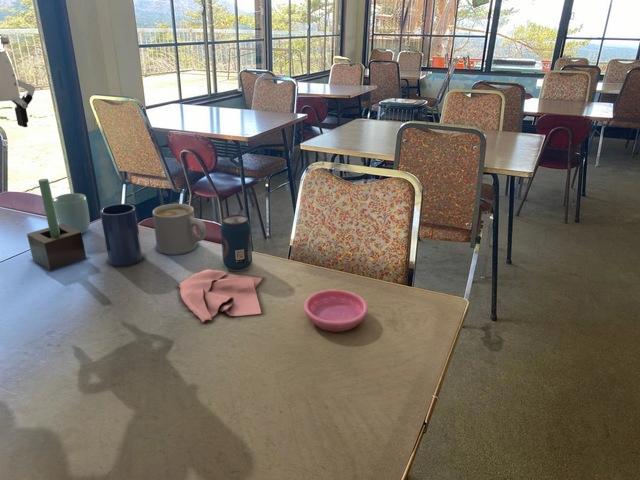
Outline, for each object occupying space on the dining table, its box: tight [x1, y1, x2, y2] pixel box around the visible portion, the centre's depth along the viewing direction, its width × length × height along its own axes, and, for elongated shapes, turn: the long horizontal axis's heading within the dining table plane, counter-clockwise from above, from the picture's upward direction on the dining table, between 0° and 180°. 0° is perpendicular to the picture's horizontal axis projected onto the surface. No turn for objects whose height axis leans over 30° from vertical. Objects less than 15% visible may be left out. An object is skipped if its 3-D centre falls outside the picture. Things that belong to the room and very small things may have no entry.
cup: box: [53, 192, 91, 234], centre depth 129 cm, size 8×8×10 cm
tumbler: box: [99, 203, 143, 267], centre depth 114 cm, size 8×8×13 cm
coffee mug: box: [152, 203, 207, 255], centre depth 122 cm, size 13×10×10 cm
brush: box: [38, 178, 60, 238], centre depth 112 cm, size 3×3×20 cm
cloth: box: [178, 268, 263, 323], centre depth 101 cm, size 20×22×2 cm
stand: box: [26, 224, 87, 272], centre depth 115 cm, size 9×9×7 cm
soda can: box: [220, 214, 253, 272], centre depth 113 cm, size 7×7×12 cm
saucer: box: [303, 289, 369, 333], centre depth 94 cm, size 12×12×3 cm
